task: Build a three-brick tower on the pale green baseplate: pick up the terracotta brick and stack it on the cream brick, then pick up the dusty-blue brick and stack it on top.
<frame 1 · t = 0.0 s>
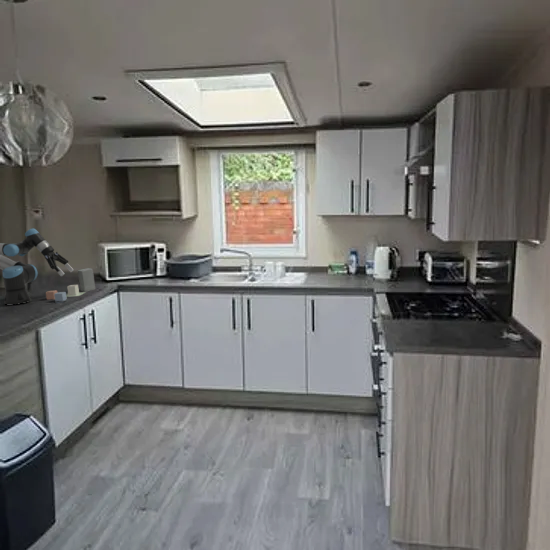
hand: (67, 273, 321), 15 cm above the worktop, tool tilted 35°, fingers open, 13 cm apart
brick c: (61, 302, 305), on the worktop
baseplate: (74, 296, 321), on the worktop
brick b: (52, 300, 313), on the worktop
skincare box: (88, 292, 334), on the worktop
brick a: (73, 294, 321), point 1 cm above the worktop, touching baseplate
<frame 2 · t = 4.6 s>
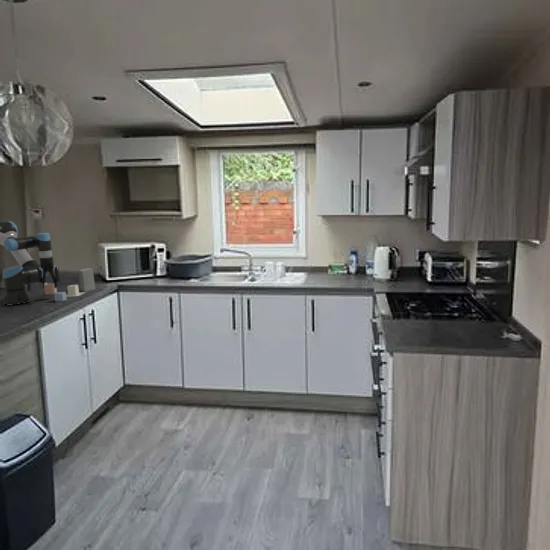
hand: (51, 292, 312), 5 cm above the worktop, tool pointing down, fingers closed on brick b, 5 cm apart
brick b: (51, 293, 312), point 5 cm above the worktop, touching gripper
everything else where it was.
when the fingers open (7 cm above the worktop, at t = 8.2 s): brick b stays where it is, resting on brick a.
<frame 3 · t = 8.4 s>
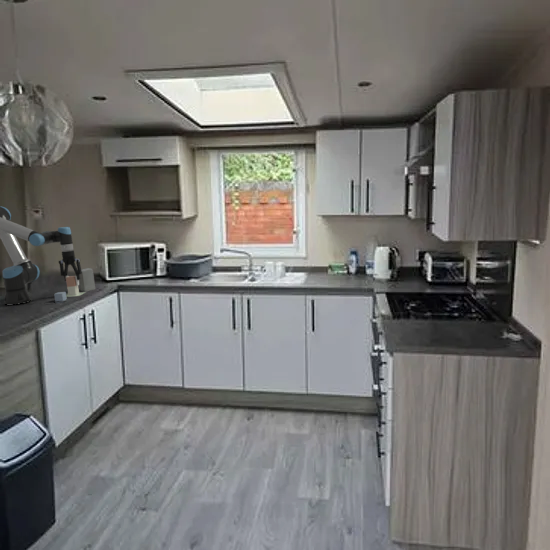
hand: (73, 285, 320), 7 cm above the worktop, tool pointing down, fingers open, 6 cm apart
brick b: (72, 285, 319), point 7 cm above the worktop, touching brick a, gripper
brick a: (73, 294, 321), point 1 cm above the worktop, touching baseplate, brick b, gripper
everything else where it was.
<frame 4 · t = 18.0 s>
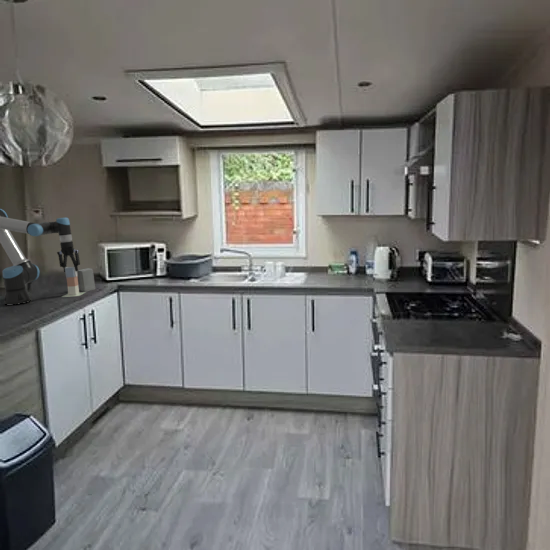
hand: (71, 276, 318), 13 cm above the worktop, tool pointing down, fingers closed on brick b, brick c, 5 cm apart
brick c: (71, 276, 318), point 13 cm above the worktop, touching brick b, gripper
brick b: (73, 285, 319), point 7 cm above the worktop, touching brick a, brick c, gripper
brick a: (73, 294, 321), point 1 cm above the worktop, touching baseplate, brick b
everything else where it was.
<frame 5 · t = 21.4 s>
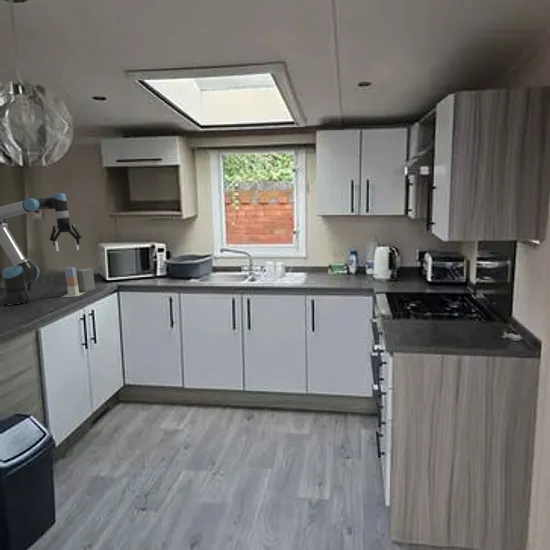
hand: (67, 250, 315), 31 cm above the worktop, tool pointing down, fingers open, 13 cm apart
brick c: (71, 276, 318), point 13 cm above the worktop, touching brick b
brick b: (72, 285, 319), point 7 cm above the worktop, touching brick a, brick c
everything else where it was.
at the end: brick b 0.3 cm off-centre on the brick a, point 6.0 cm above the brick a's base; brick c 0.2 cm off-centre on the brick a, point 12.0 cm above the brick a's base; brick c tilted 0° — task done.
